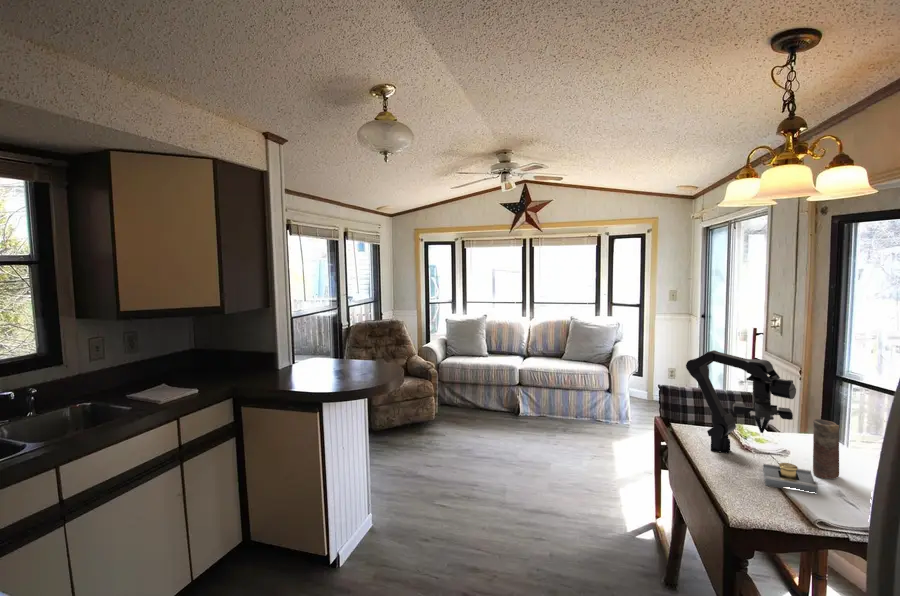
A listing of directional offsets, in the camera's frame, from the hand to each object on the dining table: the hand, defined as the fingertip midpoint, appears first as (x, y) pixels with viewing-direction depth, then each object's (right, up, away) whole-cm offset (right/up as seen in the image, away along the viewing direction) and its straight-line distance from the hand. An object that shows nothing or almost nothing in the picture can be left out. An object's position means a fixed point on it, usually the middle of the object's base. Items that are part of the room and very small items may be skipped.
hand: (761, 432), depth 174 cm
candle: (+15, -12, -11) cm, 23 cm away
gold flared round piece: (-1, -13, -15) cm, 20 cm away
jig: (-1, -13, -15) cm, 20 cm away
